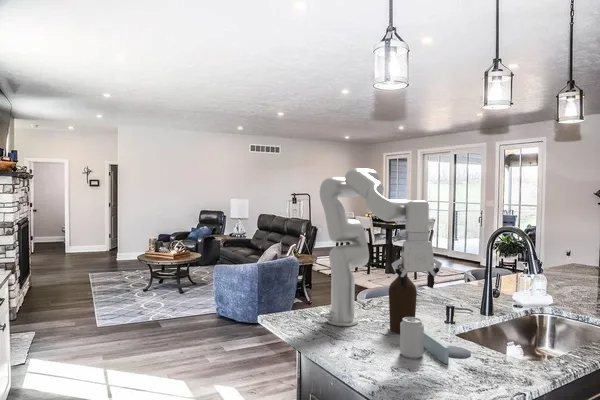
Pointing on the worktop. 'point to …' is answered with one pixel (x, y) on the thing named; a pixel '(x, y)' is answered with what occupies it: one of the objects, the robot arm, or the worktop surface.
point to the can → (412, 337)
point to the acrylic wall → (436, 347)
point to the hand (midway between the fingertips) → (416, 287)
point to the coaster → (458, 352)
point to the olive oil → (401, 302)
